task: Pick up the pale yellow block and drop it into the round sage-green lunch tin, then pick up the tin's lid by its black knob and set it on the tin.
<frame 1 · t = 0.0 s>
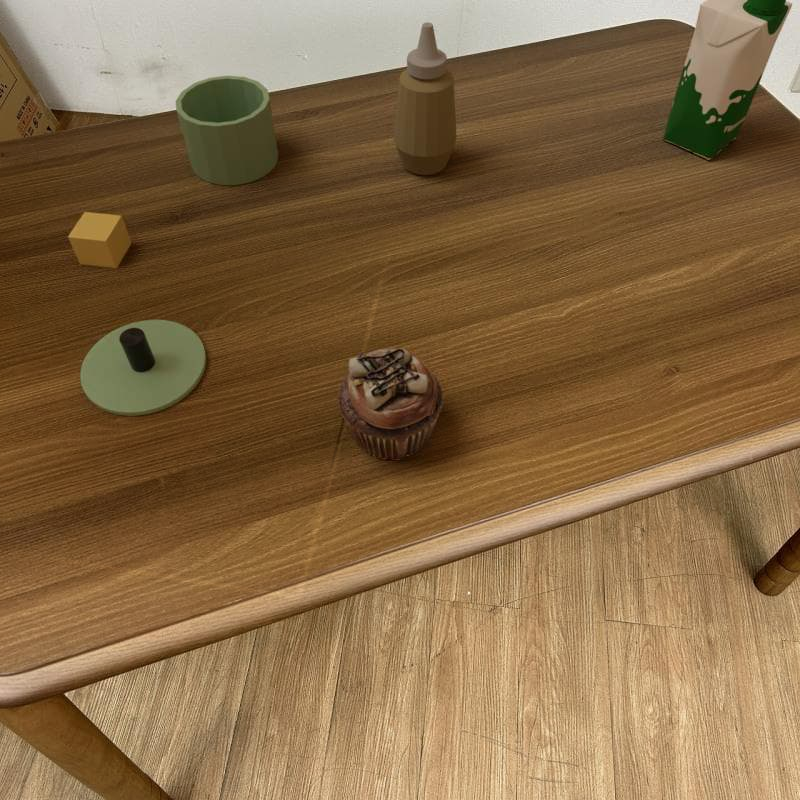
tin: (235, 159, 99), on the table
lid: (144, 367, 76), point 1 cm above the table
cupcake: (391, 428, 72), on the table
milk carton: (697, 141, 101), on the table
squeeze bottle: (424, 164, 98), on the table
block: (107, 256, 87), on the table
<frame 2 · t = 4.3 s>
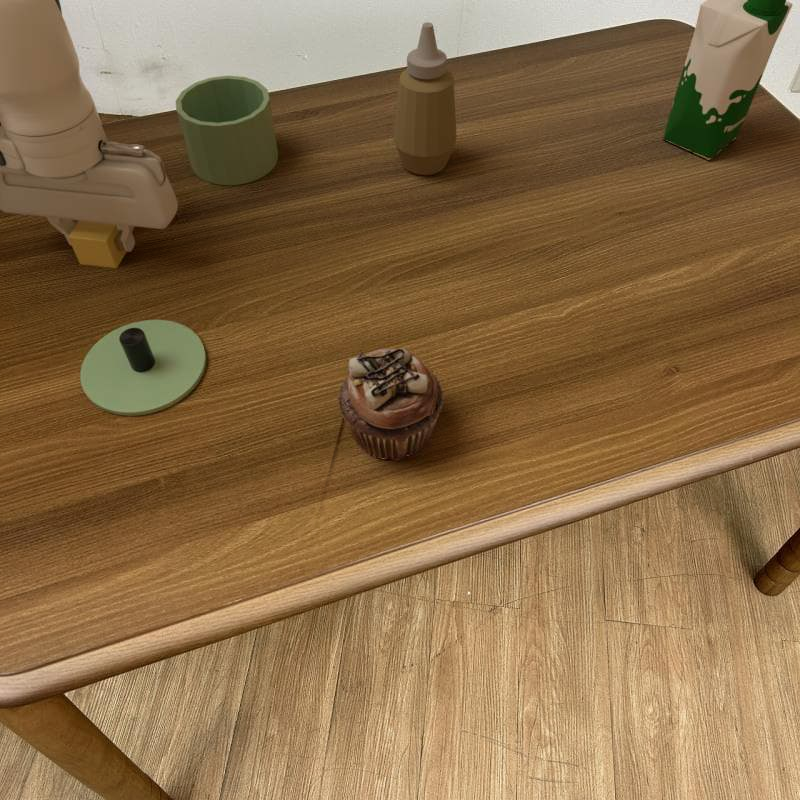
hand: (102, 245, 86), 2 cm above the table, tool pointing down, fingers closed on block, 4 cm apart
block: (107, 256, 87), on the table, touching gripper
everything else where it was.
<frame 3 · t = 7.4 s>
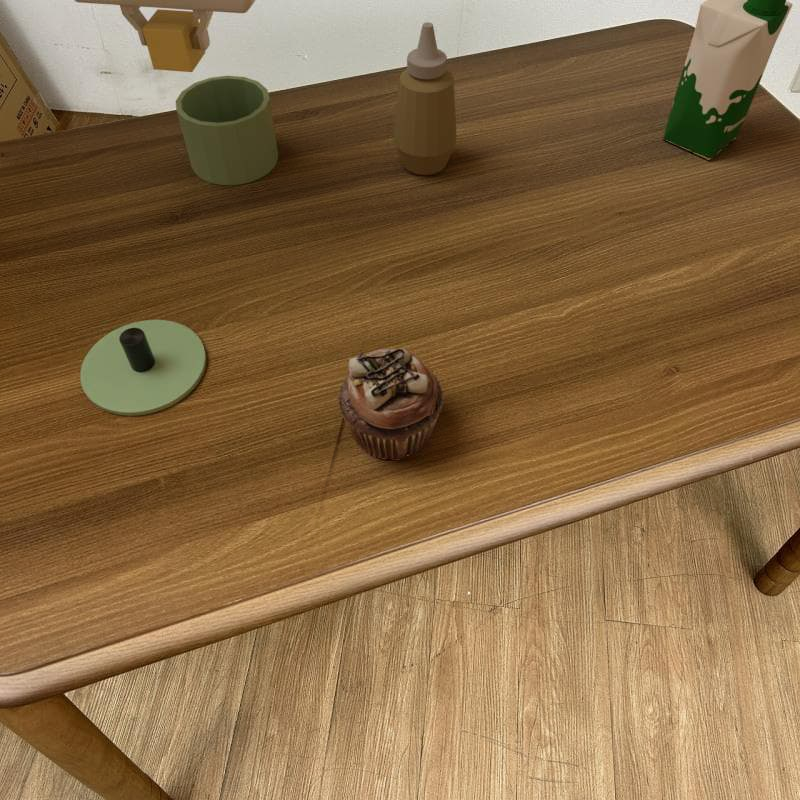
hand: (176, 45, 82), 18 cm above the table, tool pointing down, fingers closed on block, 4 cm apart
block: (180, 60, 83), point 16 cm above the table, touching gripper
everything else where it was.
when the fingers open (9 cm above the table, at t = 10.3 s): block drops 7 cm, resting on tin.
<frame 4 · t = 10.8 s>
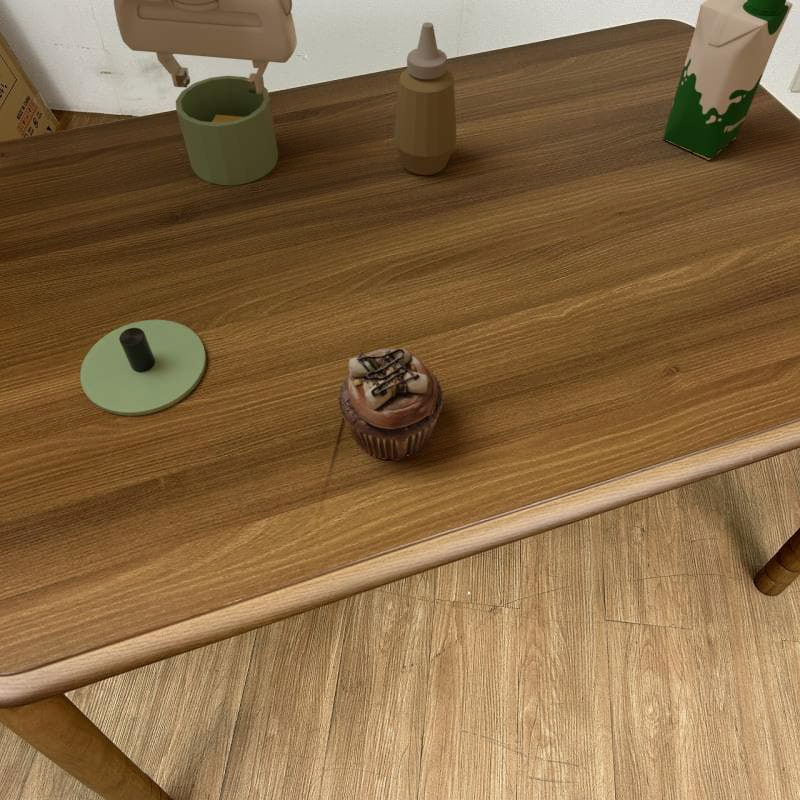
hand: (219, 88, 91), 10 cm above the table, tool pointing down, fingers open, 8 cm apart
block: (233, 156, 98), resting on tin
everything else where it was.
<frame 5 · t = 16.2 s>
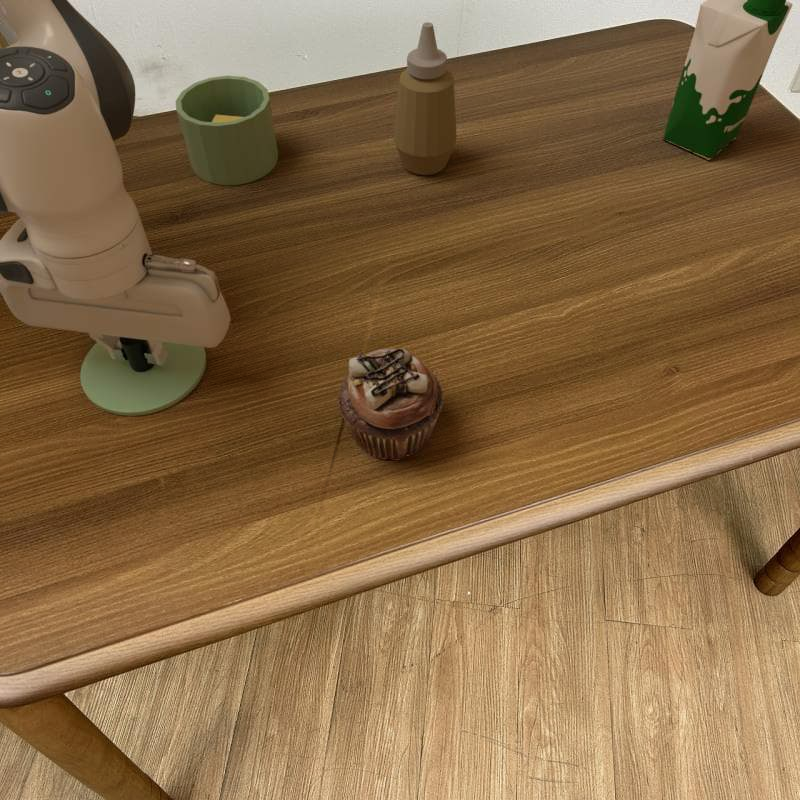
hand: (140, 357, 74), 2 cm above the table, tool pointing down, fingers closed on lid, 2 cm apart
lid: (144, 367, 76), point 1 cm above the table, touching gripper
everything else where it was.
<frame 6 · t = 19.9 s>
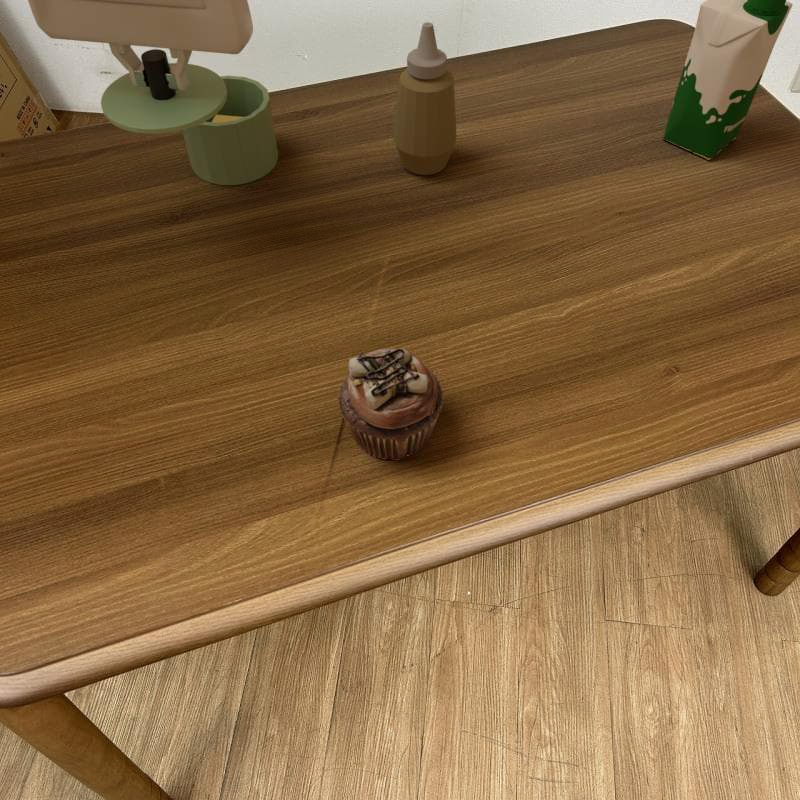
hand: (161, 85, 74), 19 cm above the table, tool pointing down, fingers closed on lid, 2 cm apart
lid: (165, 99, 75), point 17 cm above the table, touching gripper
everything else where it was.
when the fingers open (10 cm above the table, at t = 23.7 s): lid stays where it is, resting on tin.
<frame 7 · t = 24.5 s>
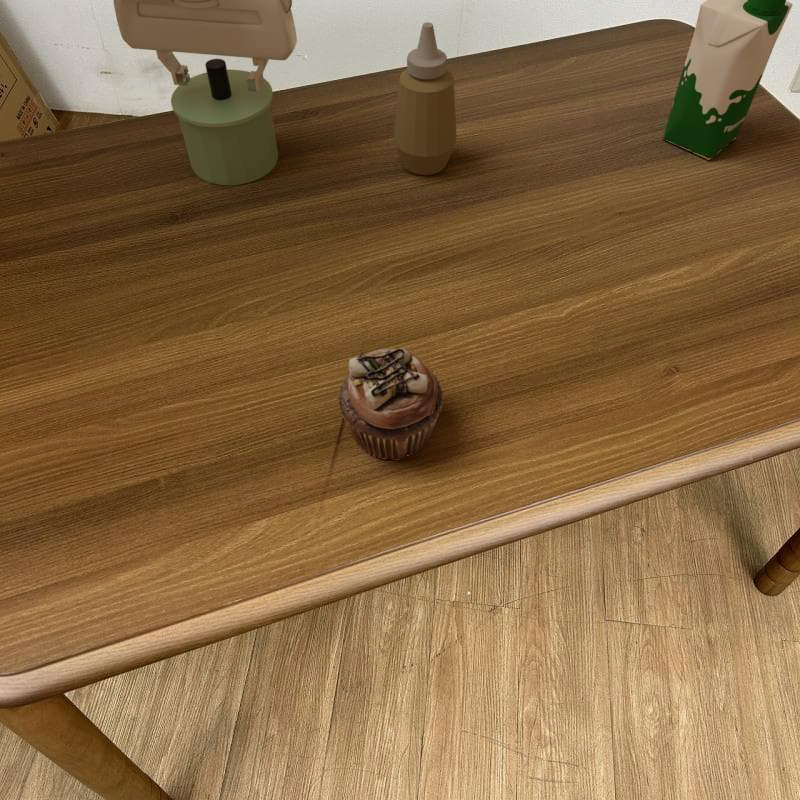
hand: (219, 86, 91), 10 cm above the table, tool pointing down, fingers open, 8 cm apart
lid: (222, 99, 92), point 8 cm above the table, touching tin
everything else where it was.
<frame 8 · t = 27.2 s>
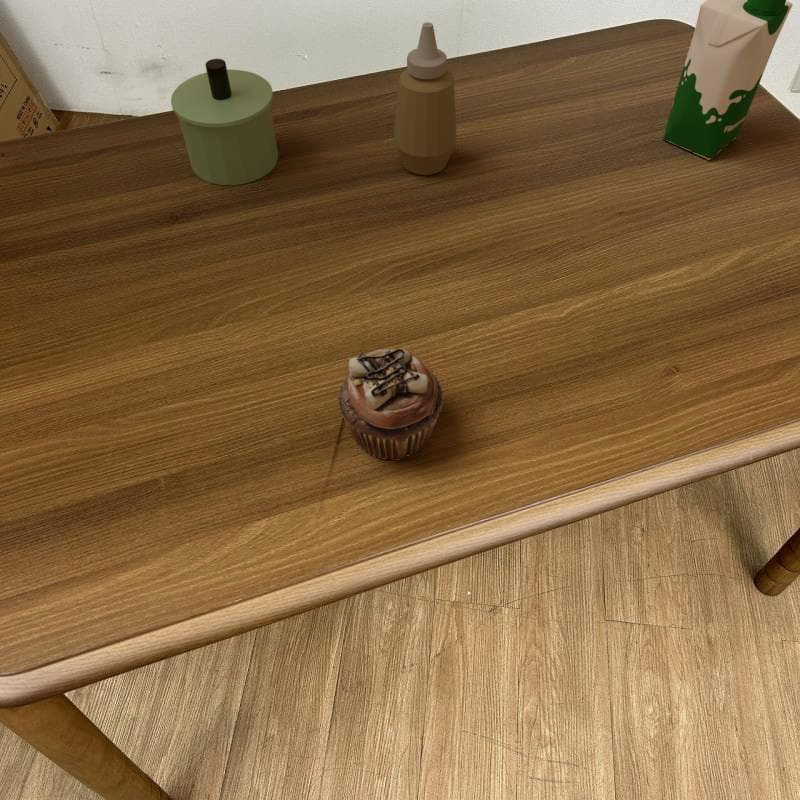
nothing on the table moved.
at the end: block inside the target area in the tin (0.1 cm from its centre), point 0.5 cm above the tin's base; lid 0.0 cm off-centre on the tin, point 8.5 cm above the tin's base; lid tilted 0° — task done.
